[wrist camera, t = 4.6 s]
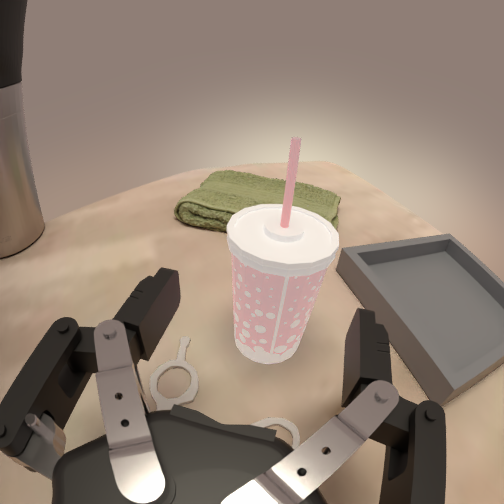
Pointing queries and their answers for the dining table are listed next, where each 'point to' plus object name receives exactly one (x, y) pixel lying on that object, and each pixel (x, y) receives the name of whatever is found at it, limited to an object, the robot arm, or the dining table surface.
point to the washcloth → (248, 199)
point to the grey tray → (432, 308)
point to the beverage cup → (277, 271)
